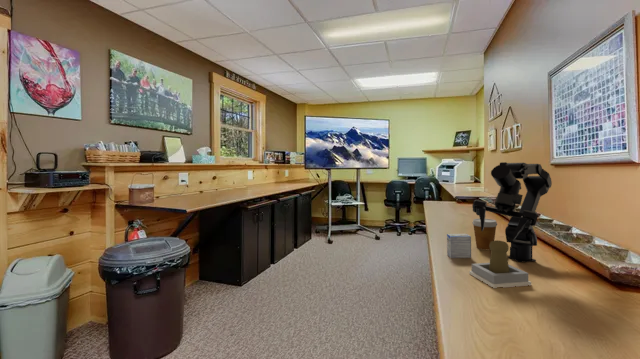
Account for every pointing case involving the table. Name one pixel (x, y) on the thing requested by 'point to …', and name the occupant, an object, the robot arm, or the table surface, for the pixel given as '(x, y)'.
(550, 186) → the robot arm
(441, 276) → the table surface
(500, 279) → the socket plate
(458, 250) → the medicine box
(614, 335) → the table surface
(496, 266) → the cork
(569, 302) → the table surface
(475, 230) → the disposable coffee cup
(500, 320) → the table surface
